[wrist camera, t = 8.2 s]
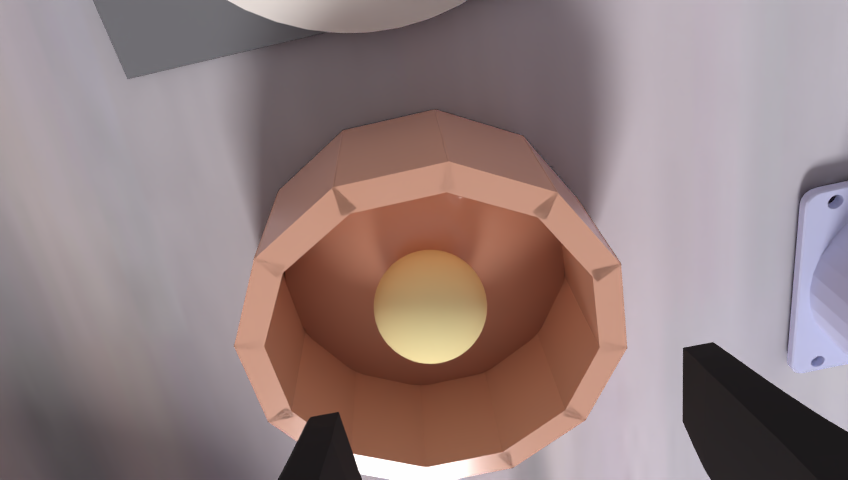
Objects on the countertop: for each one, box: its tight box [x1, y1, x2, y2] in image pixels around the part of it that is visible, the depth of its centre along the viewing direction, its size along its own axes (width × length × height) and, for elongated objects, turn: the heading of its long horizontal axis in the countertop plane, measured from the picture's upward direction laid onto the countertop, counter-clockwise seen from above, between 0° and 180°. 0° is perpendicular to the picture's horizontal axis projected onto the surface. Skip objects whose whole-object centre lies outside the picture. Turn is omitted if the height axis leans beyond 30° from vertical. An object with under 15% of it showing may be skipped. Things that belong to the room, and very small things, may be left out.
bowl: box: [234, 109, 627, 480], centre depth 20 cm, size 11×11×4 cm
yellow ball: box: [374, 250, 487, 364], centre depth 20 cm, size 4×4×4 cm
